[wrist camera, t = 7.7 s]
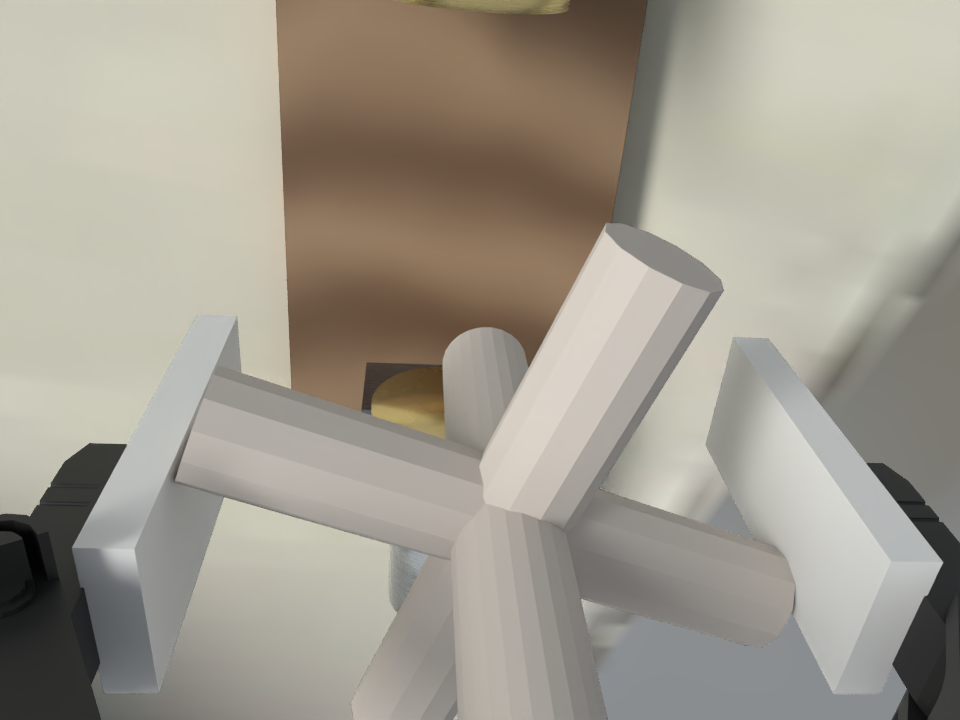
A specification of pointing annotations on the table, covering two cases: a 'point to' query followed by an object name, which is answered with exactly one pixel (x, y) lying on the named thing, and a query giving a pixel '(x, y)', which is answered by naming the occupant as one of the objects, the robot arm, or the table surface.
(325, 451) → the pipe connector
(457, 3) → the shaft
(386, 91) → the board
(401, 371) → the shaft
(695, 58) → the table surface
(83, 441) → the table surface
